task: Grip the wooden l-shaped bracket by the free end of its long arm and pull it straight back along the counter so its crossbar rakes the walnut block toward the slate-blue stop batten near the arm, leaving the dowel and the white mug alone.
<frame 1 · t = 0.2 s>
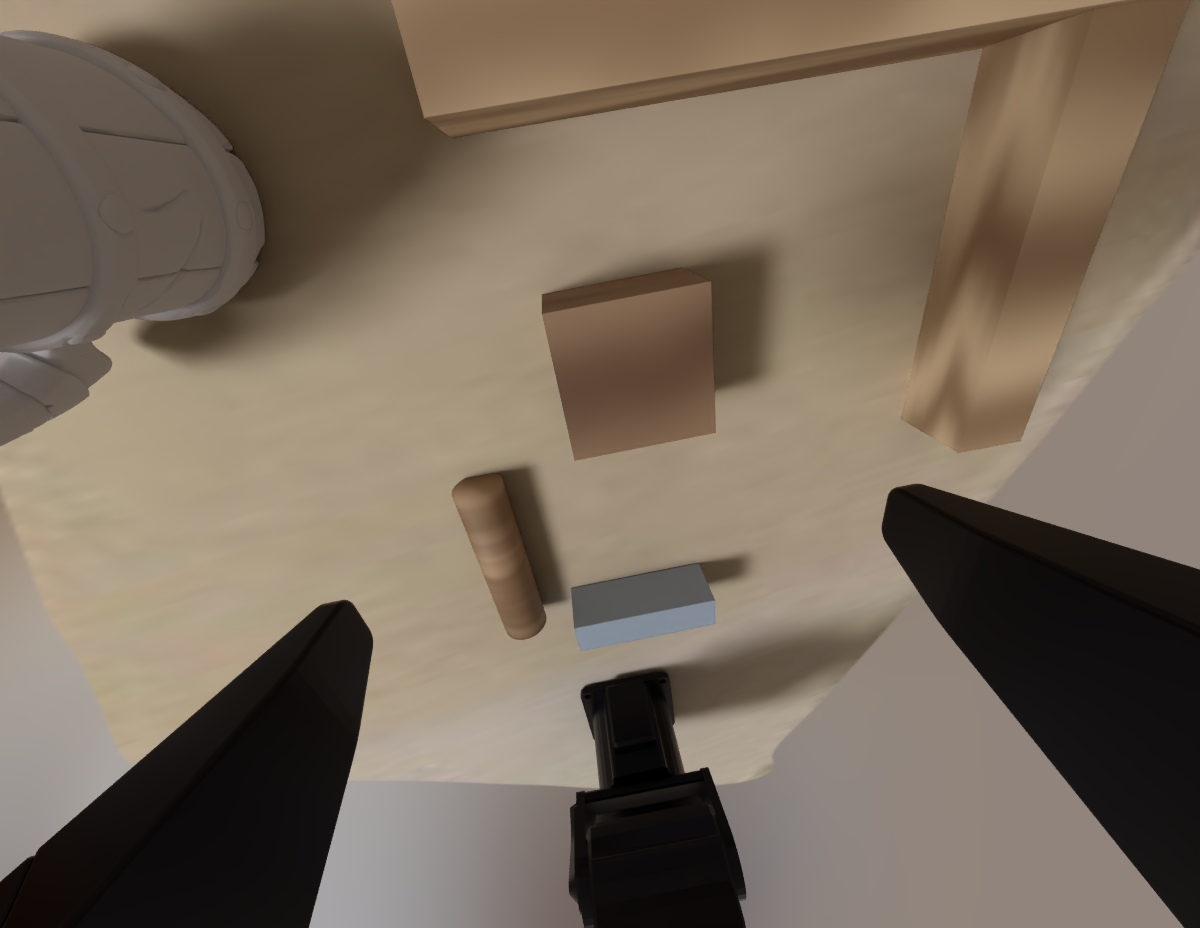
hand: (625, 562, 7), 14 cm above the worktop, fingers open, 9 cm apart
dowel: (506, 546, 25), on the worktop
wooden l-shaped bracket: (931, 386, 23), on the worktop
mug: (147, 249, 17), on the worktop
block: (620, 349, 20), on the worktop
stop batten: (636, 587, 28), on the worktop
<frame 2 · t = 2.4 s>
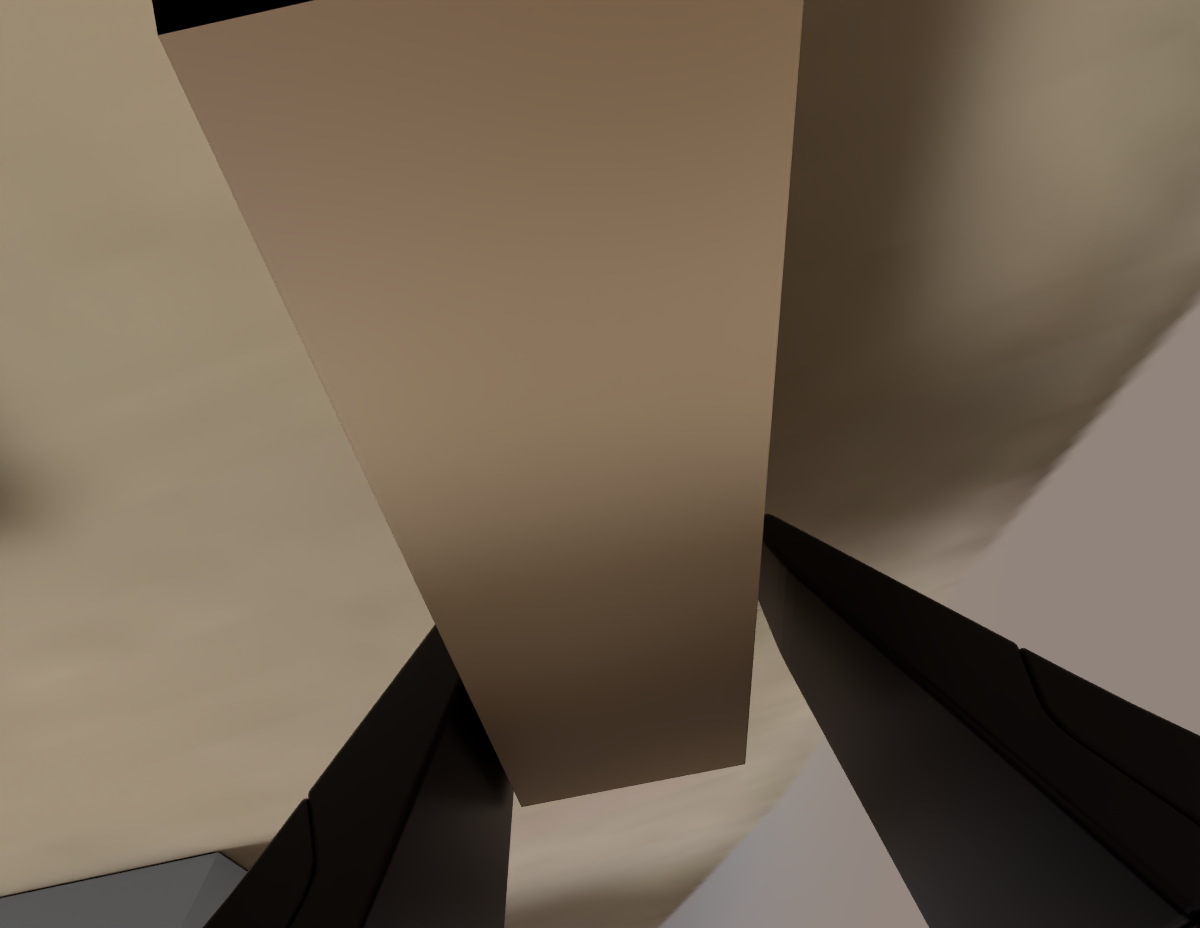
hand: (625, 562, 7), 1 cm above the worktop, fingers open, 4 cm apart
wooden l-shaped bracket: (590, 514, 9), on the worktop, touching gripper
stop batten: (104, 893, 13), on the worktop
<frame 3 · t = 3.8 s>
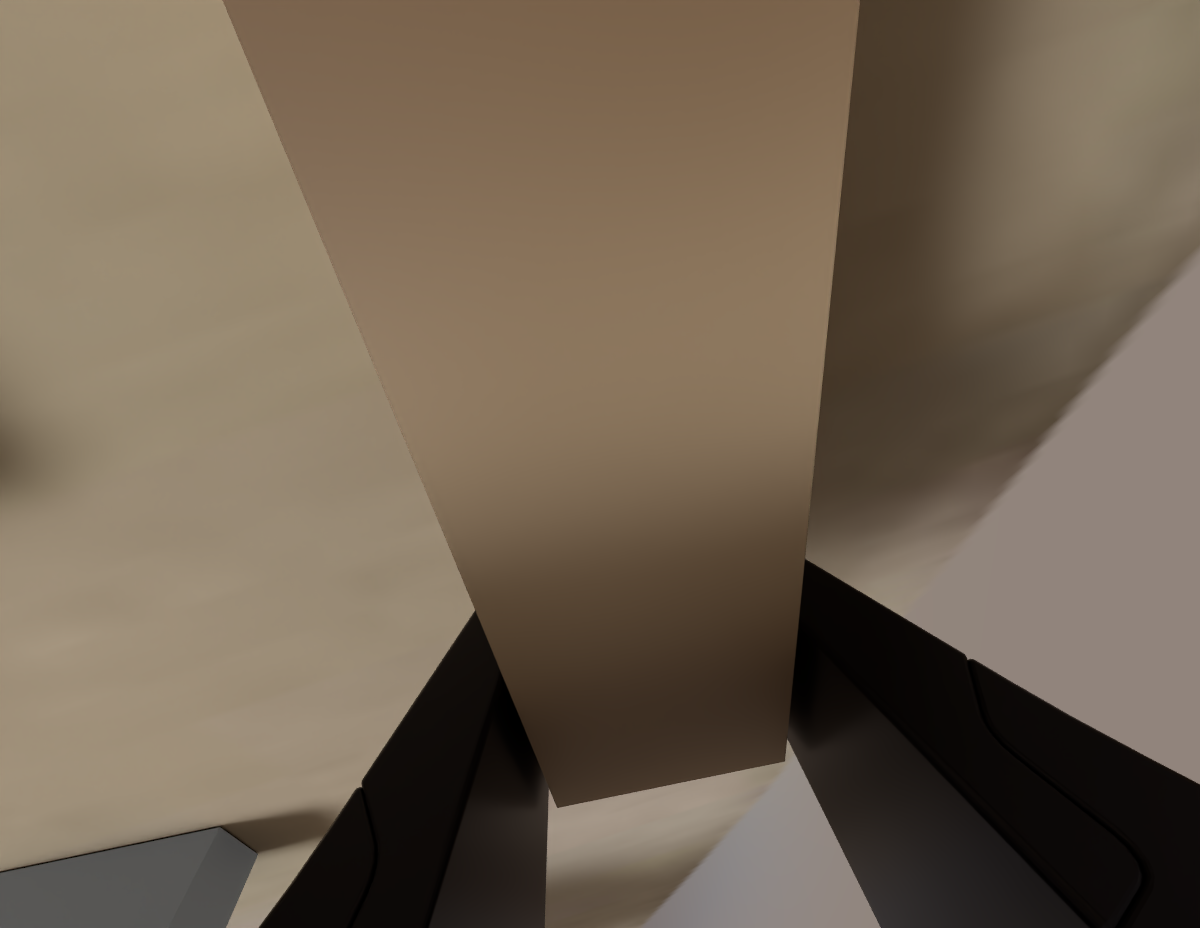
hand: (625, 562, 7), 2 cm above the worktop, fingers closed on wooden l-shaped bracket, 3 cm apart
wooden l-shaped bracket: (613, 512, 9), on the worktop, touching gripper
stop batten: (108, 868, 13), on the worktop
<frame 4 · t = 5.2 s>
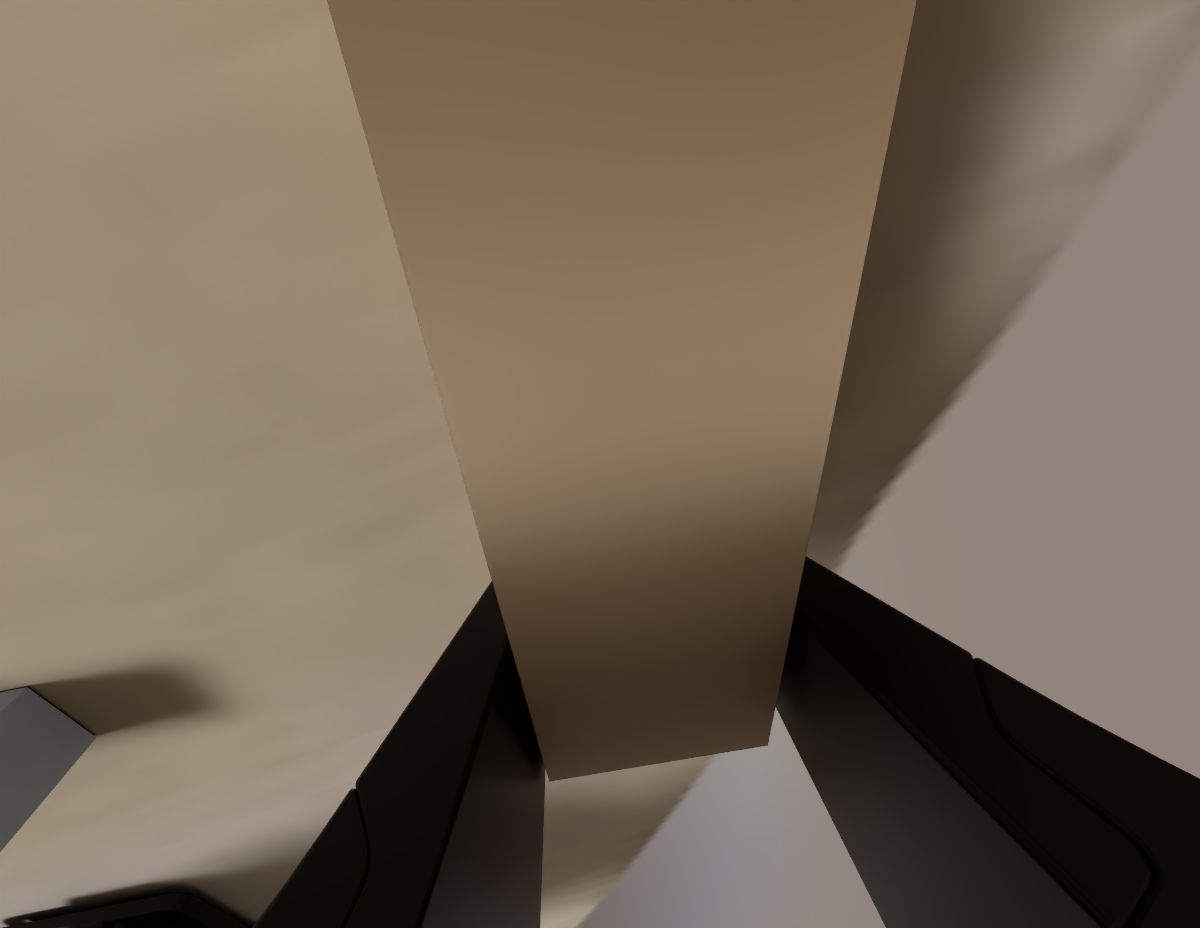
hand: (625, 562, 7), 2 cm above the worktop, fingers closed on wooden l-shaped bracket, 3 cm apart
wooden l-shaped bracket: (612, 502, 9), on the worktop, touching gripper
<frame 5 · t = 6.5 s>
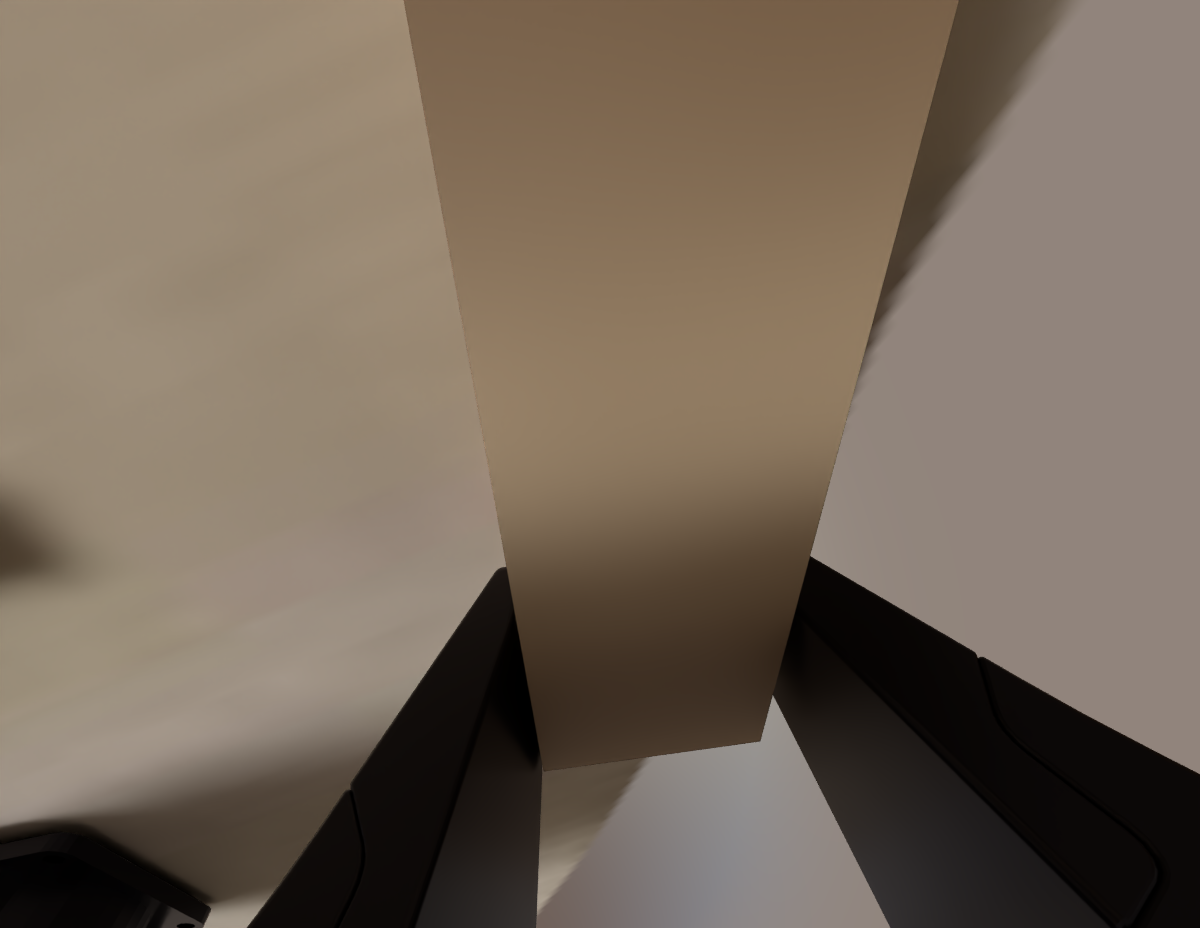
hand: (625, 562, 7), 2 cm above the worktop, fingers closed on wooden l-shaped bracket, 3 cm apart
wooden l-shaped bracket: (612, 499, 9), on the worktop, touching gripper
when the fingers open (3 cm above the worktop, at t = 7.5 s): wooden l-shaped bracket drops 2 cm, on the worktop.
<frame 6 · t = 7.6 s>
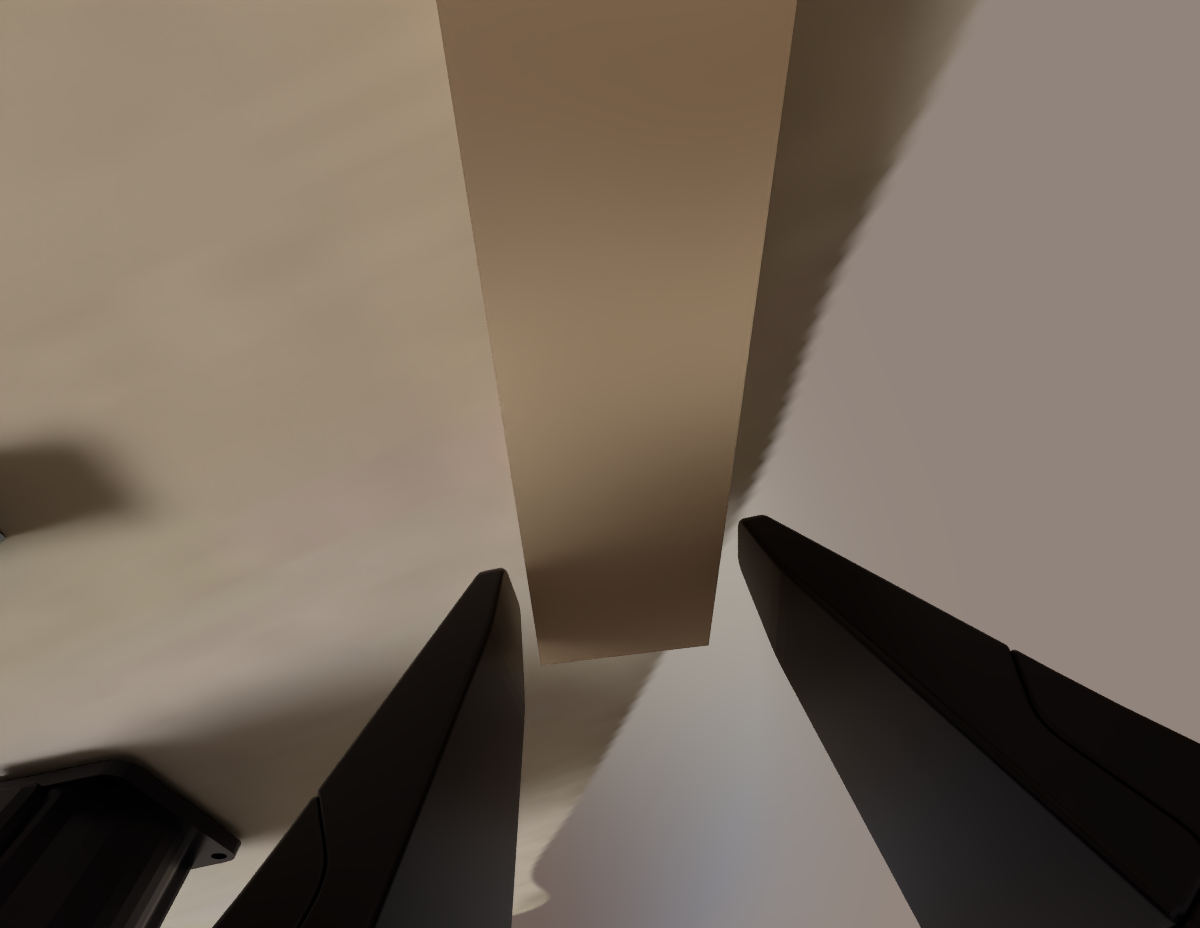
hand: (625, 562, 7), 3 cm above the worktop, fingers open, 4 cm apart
wooden l-shaped bracket: (598, 467, 11), on the worktop
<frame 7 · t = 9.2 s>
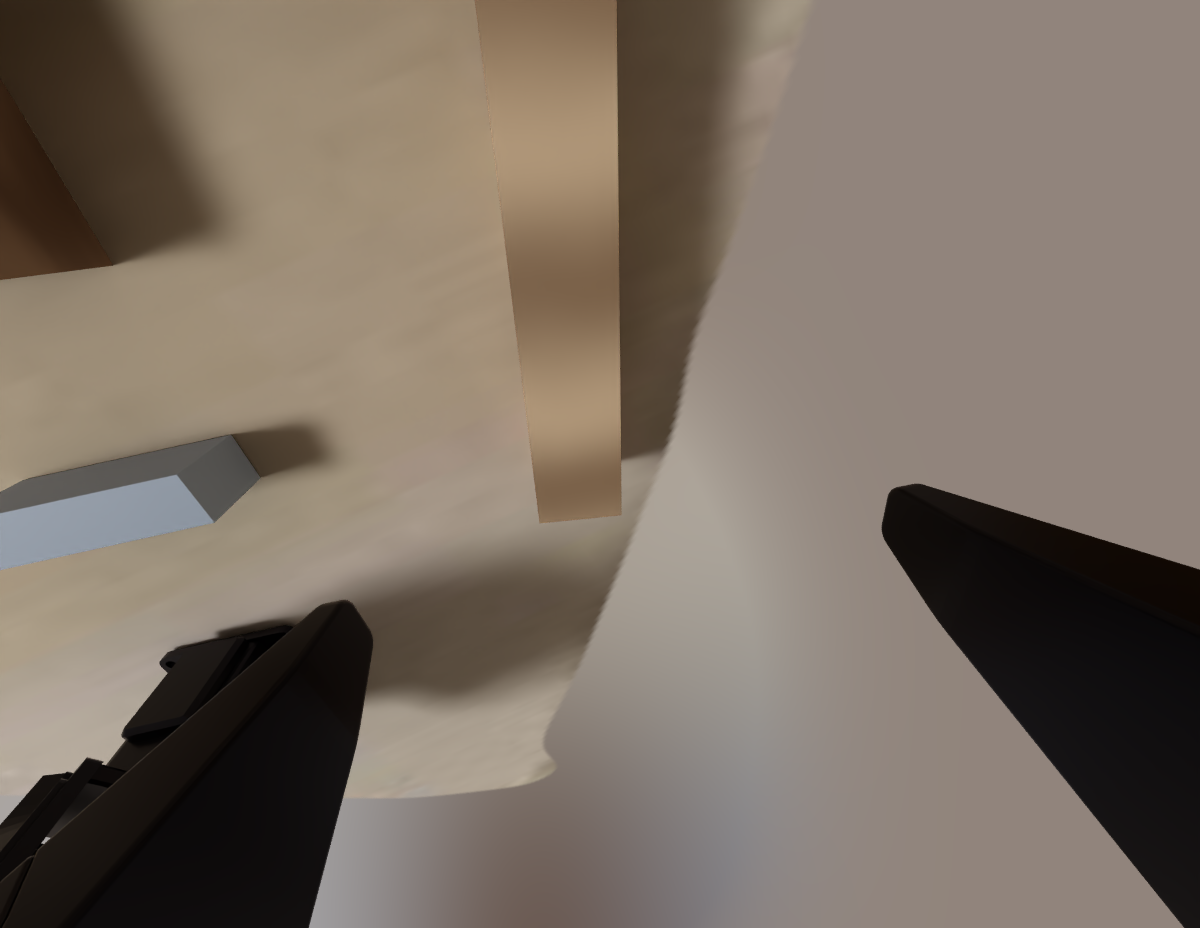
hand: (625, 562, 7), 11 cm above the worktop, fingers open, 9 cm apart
wooden l-shaped bracket: (571, 434, 19), on the worktop
stop batten: (145, 478, 18), on the worktop
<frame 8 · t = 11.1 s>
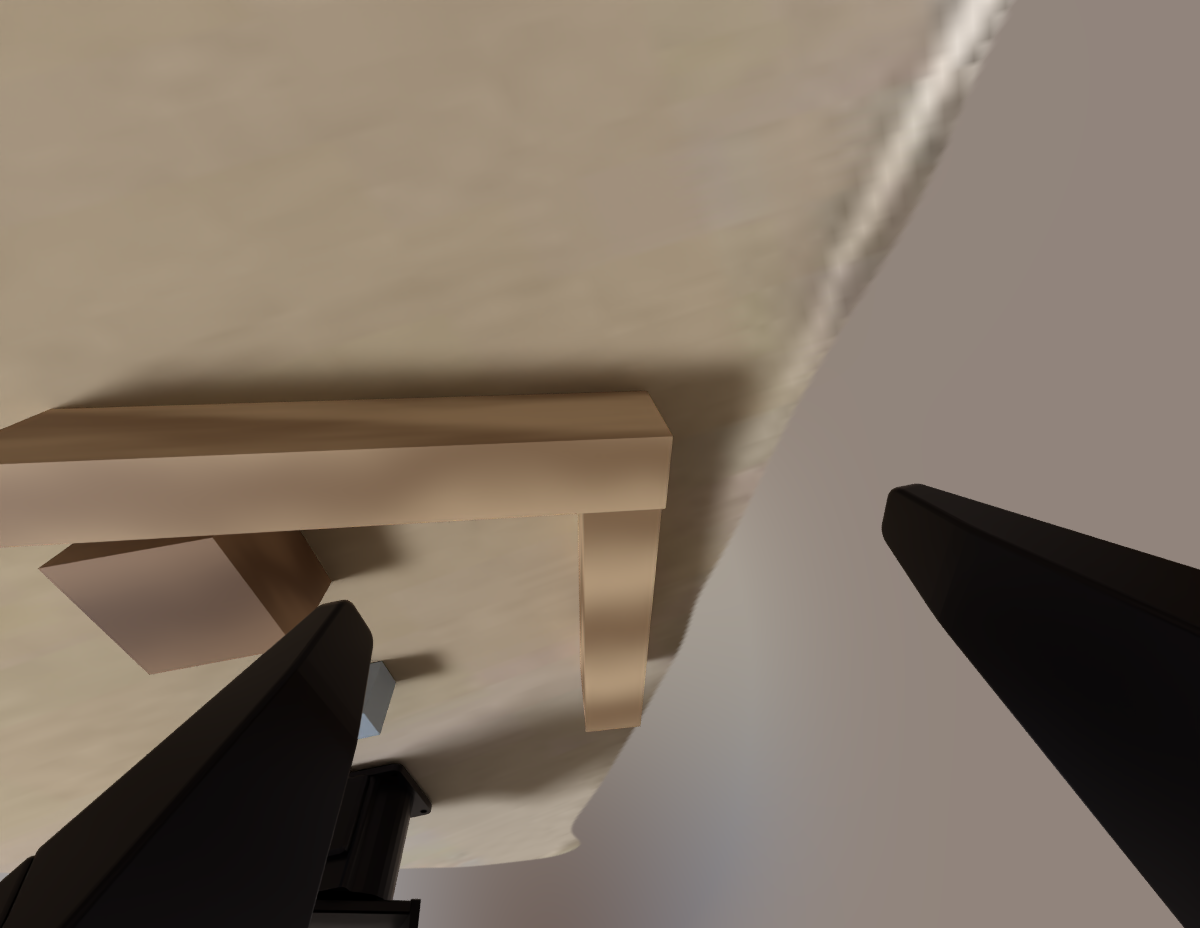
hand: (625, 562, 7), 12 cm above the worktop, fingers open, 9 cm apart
wooden l-shaped bracket: (604, 648, 27), on the worktop
block: (239, 544, 21), on the worktop
stop batten: (320, 686, 26), on the worktop
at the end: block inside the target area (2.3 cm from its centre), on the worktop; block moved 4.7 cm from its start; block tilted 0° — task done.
